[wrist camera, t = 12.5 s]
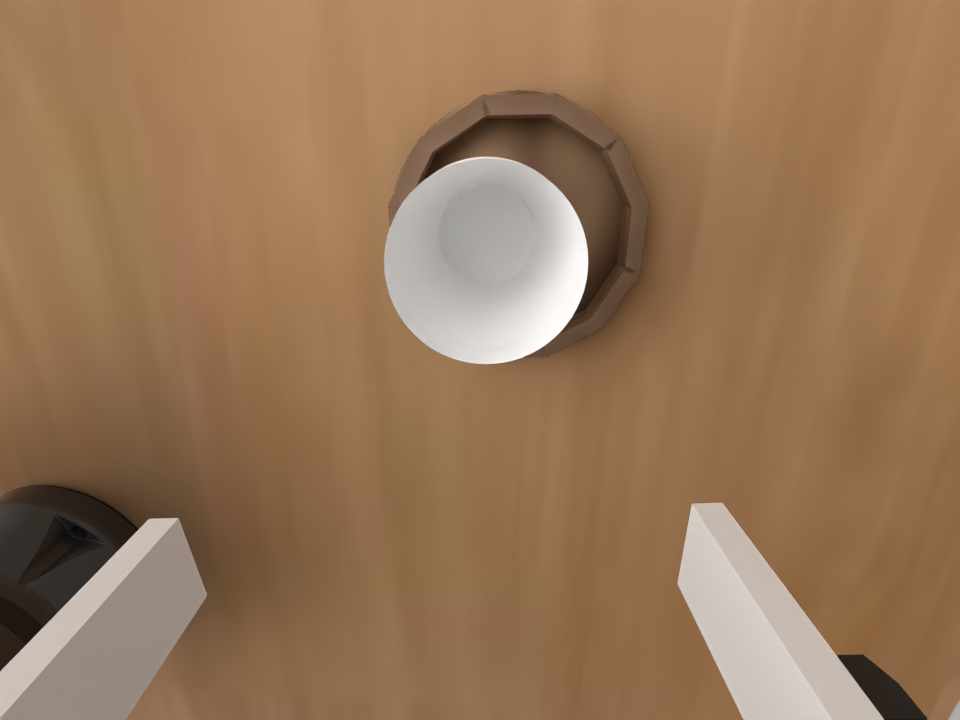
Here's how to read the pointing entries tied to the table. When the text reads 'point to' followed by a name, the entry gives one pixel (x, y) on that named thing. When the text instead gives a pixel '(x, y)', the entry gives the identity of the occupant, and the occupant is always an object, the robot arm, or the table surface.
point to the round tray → (565, 163)
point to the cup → (486, 260)
